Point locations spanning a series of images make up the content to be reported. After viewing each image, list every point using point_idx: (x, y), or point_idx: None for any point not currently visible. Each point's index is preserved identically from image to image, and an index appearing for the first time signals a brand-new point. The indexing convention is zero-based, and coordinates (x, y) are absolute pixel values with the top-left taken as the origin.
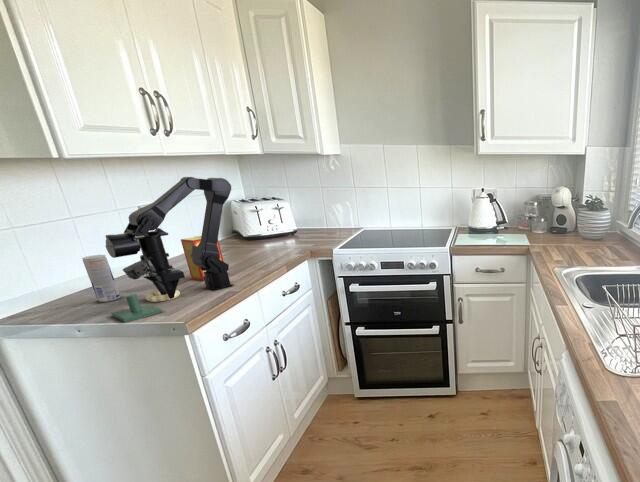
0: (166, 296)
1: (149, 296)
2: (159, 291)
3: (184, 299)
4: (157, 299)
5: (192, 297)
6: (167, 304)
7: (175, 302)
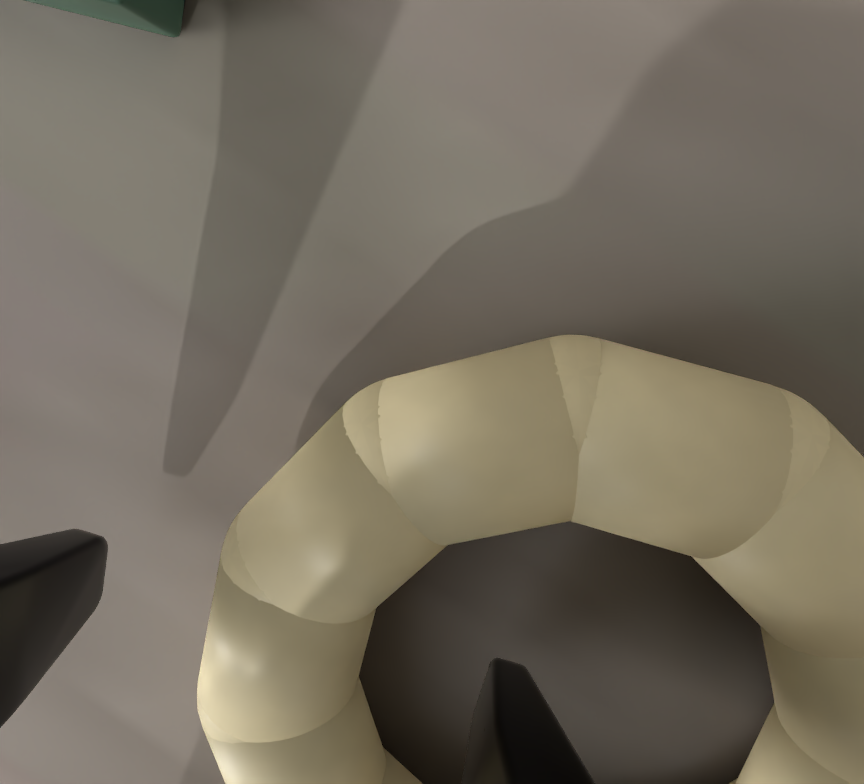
0: (218, 588)
1: (600, 421)
2: (525, 746)
3: None
4: (335, 414)
5: (32, 778)
6: (23, 345)
7: (10, 486)
